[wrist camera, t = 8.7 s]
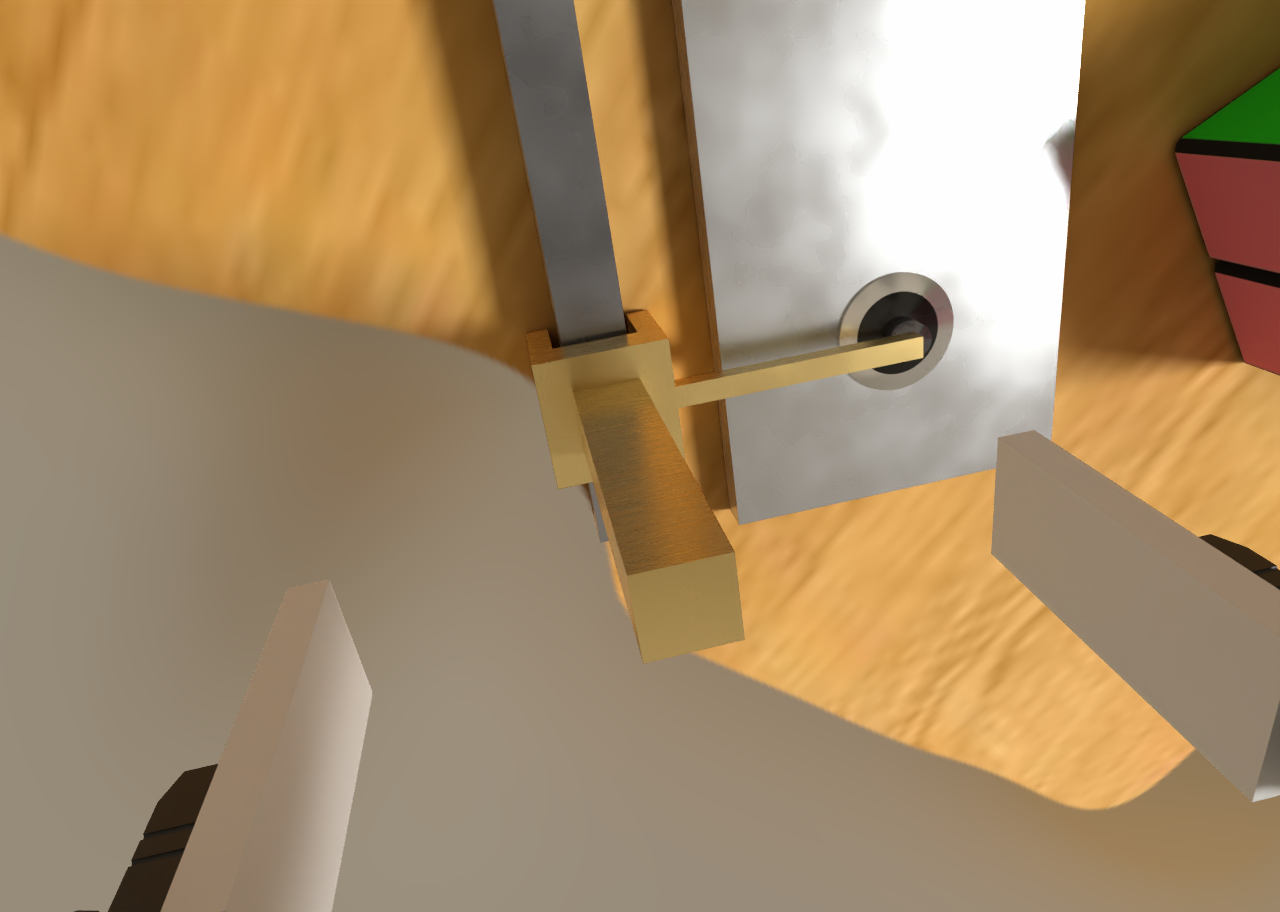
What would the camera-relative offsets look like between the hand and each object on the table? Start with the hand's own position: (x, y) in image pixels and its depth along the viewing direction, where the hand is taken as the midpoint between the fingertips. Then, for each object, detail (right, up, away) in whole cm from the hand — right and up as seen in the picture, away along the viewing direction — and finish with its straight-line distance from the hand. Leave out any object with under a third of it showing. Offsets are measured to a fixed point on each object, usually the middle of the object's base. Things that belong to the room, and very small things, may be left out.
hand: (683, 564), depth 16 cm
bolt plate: (+6, +14, +9) cm, 18 cm away
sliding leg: (+2, +6, +12) cm, 13 cm away
